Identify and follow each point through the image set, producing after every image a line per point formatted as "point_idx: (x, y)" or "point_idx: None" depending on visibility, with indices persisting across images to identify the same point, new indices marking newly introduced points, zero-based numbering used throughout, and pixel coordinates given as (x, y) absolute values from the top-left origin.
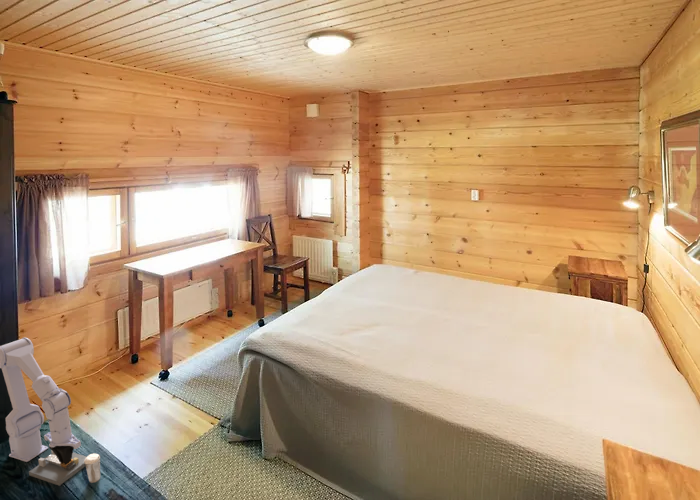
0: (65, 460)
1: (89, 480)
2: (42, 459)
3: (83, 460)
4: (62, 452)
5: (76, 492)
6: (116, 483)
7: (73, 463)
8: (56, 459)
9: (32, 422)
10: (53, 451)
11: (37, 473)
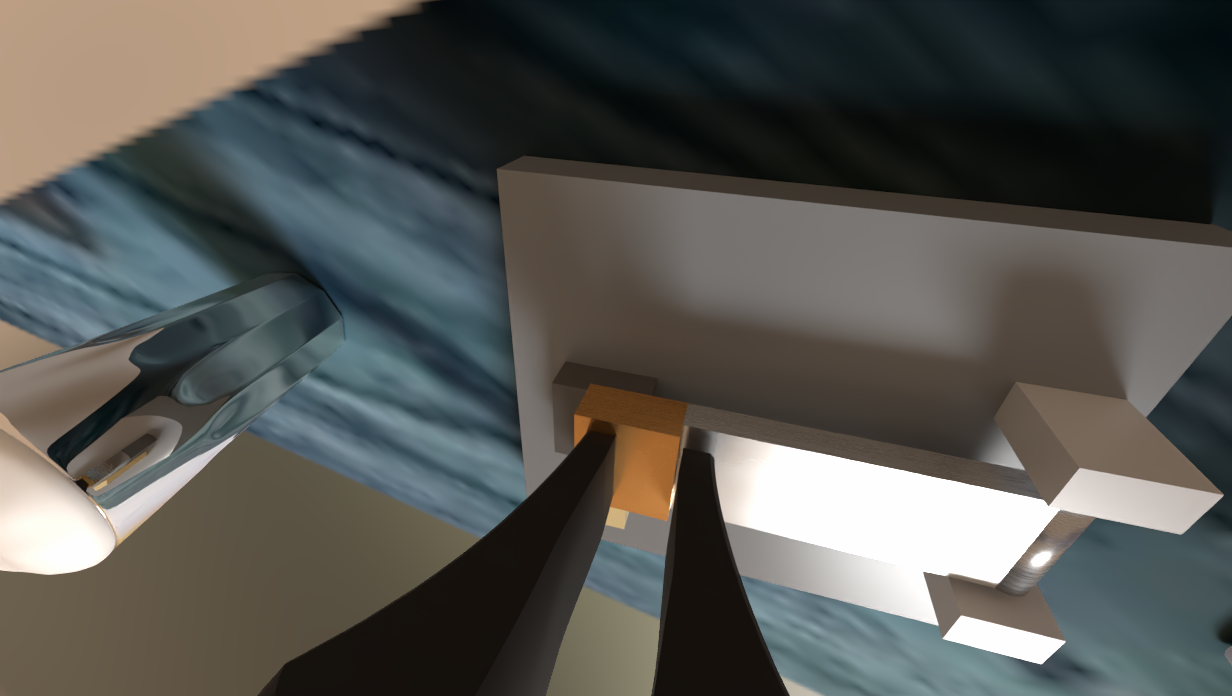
0: (555, 475)
1: (274, 282)
2: (1105, 495)
3: None
4: (310, 659)
5: (256, 119)
6: (133, 303)
7: None
8: (835, 499)
9: None
10: (763, 688)
11: (1021, 245)
